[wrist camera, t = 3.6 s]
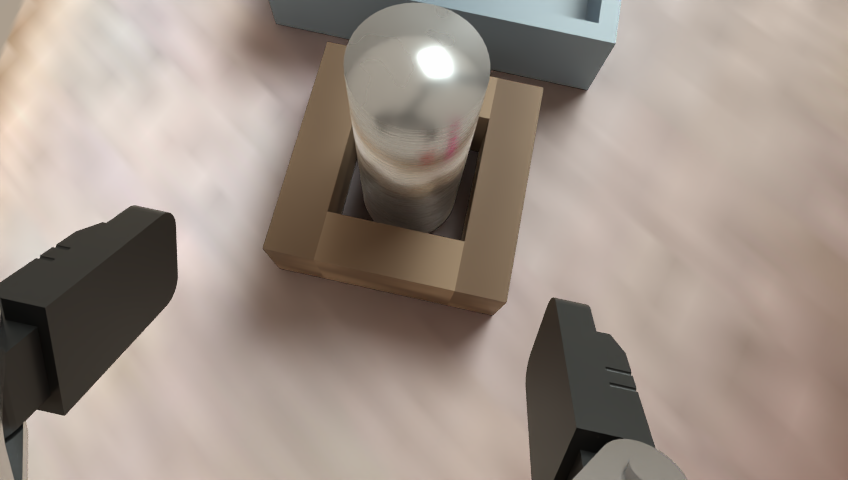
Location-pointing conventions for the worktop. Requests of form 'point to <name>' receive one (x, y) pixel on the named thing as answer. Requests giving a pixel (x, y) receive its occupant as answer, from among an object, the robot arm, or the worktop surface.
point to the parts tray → (494, 31)
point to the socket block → (394, 246)
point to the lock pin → (414, 109)
